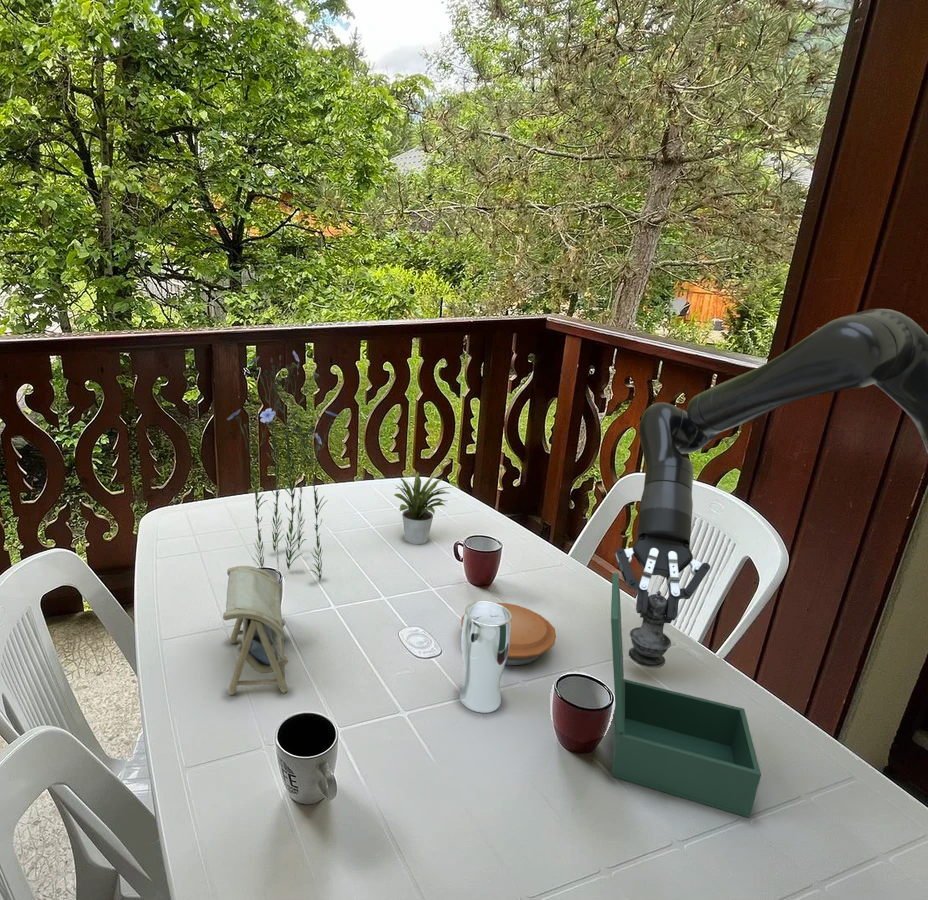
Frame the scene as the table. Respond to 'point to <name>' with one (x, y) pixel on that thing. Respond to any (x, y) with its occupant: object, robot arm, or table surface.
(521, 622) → the pie
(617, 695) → the lid
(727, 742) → the green open box
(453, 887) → the table surface
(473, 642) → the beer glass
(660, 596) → the stone chess piece
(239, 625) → the swing bench
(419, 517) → the house plant
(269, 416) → the wildflower
